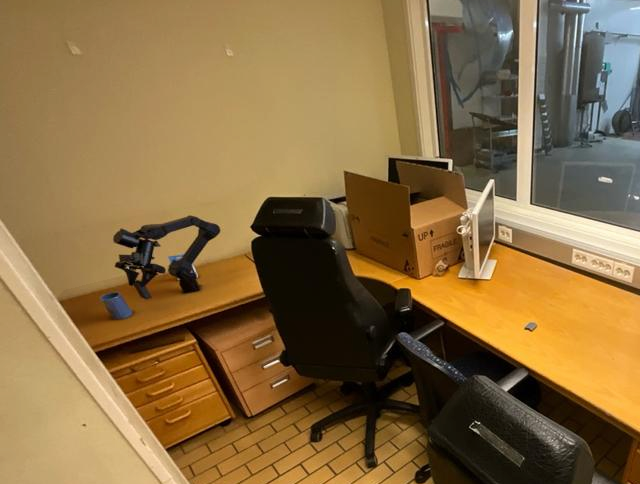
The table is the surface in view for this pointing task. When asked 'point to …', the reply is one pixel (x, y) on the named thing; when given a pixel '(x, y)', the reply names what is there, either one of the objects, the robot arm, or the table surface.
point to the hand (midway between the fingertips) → (136, 286)
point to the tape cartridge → (180, 258)
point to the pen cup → (116, 305)
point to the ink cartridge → (142, 290)
